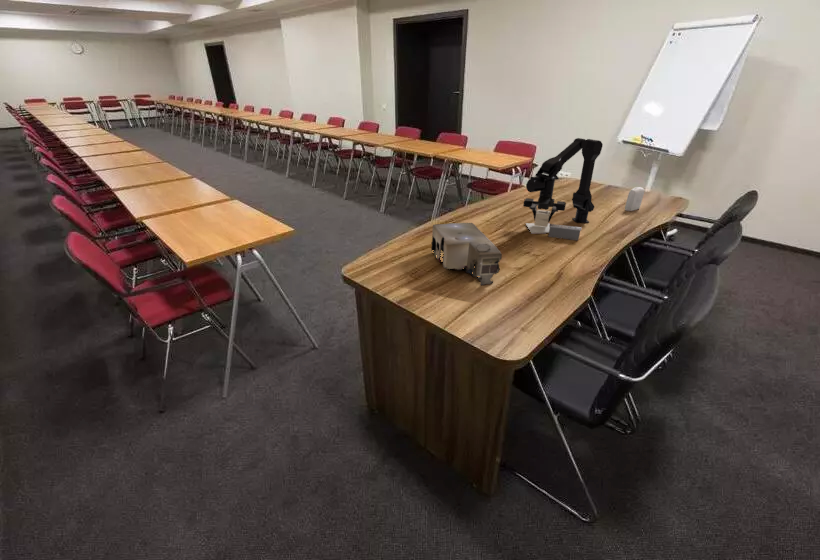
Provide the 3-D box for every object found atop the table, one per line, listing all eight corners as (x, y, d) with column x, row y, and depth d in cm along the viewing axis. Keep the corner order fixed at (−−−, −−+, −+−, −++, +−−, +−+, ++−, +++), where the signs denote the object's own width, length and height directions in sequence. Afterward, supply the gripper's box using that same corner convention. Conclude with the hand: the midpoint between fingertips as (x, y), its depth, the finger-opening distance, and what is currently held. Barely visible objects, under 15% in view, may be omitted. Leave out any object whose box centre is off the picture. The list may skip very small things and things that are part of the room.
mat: (525, 224, 192) (525, 223, 191) (549, 224, 191) (549, 223, 191) (530, 233, 181) (531, 231, 181) (556, 233, 180) (556, 231, 180)
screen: (548, 234, 179) (549, 223, 177) (579, 238, 174) (581, 227, 172) (547, 236, 177) (549, 225, 174) (578, 240, 172) (581, 229, 170)
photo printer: (633, 206, 216) (639, 185, 210) (640, 208, 213) (647, 186, 207) (623, 210, 211) (628, 187, 205) (630, 212, 208) (636, 189, 202)
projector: (450, 288, 134) (453, 253, 128) (430, 252, 162) (431, 222, 156) (499, 285, 137) (504, 251, 131) (471, 250, 165) (474, 221, 159)
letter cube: (535, 221, 188) (537, 209, 185) (548, 223, 186) (550, 210, 183) (534, 225, 183) (536, 213, 181) (547, 226, 181) (549, 214, 178)
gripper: (523, 192, 174) (519, 224, 181) (567, 195, 167) (561, 229, 174) (527, 186, 183) (522, 217, 190) (568, 189, 176) (562, 221, 184)
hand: (541, 221), depth 184 cm, fingers closed on letter cube, 6 cm apart
